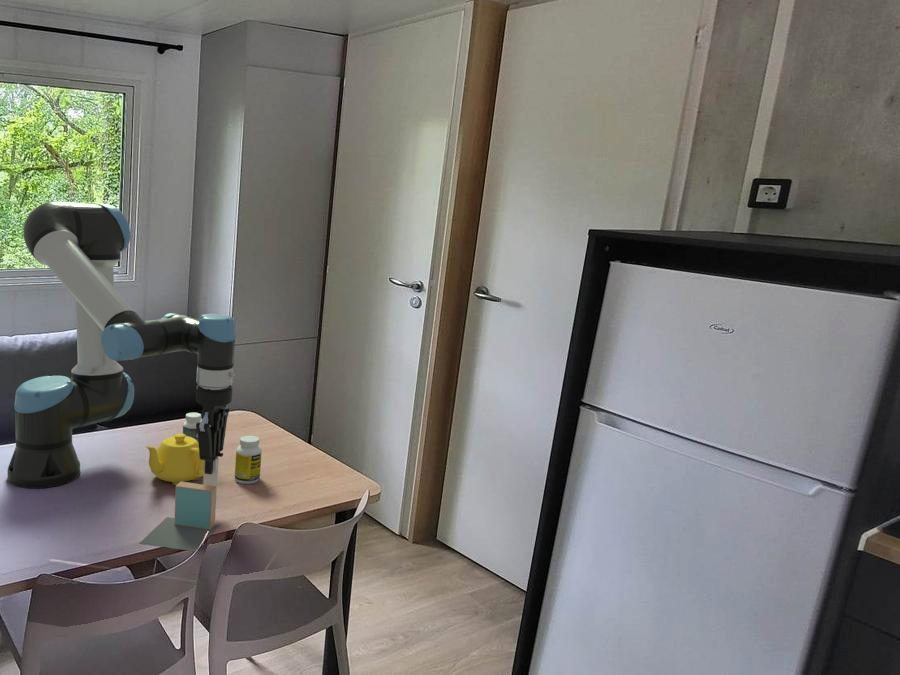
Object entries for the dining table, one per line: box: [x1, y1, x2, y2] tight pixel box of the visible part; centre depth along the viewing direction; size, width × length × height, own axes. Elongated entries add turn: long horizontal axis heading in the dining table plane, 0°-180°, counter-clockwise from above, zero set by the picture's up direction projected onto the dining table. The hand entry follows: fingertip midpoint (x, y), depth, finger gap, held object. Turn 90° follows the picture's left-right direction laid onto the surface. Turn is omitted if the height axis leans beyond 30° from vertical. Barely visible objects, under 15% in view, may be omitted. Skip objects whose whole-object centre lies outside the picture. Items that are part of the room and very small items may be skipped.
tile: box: [174, 481, 218, 530], centre depth 154 cm, size 8×2×9 cm, turn 86°
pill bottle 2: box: [234, 435, 263, 485], centre depth 180 cm, size 6×6×11 cm
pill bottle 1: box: [182, 412, 202, 442], centre depth 198 cm, size 5×5×9 cm
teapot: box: [145, 433, 204, 486], centre depth 175 cm, size 20×15×12 cm
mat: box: [139, 516, 220, 553], centre depth 151 cm, size 12×12×1 cm
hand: (210, 484), depth 161 cm, fingers closed
